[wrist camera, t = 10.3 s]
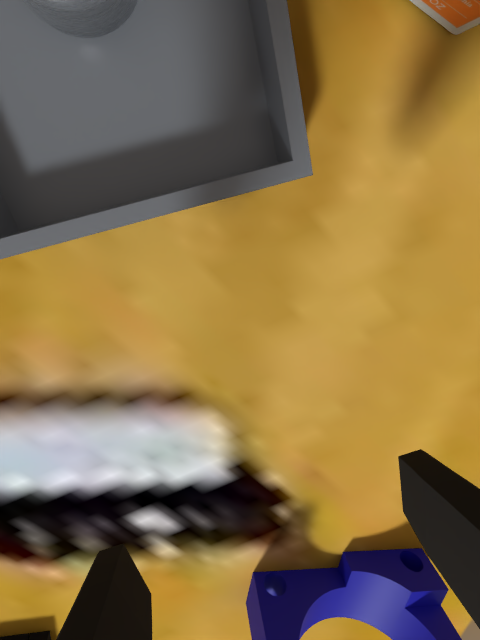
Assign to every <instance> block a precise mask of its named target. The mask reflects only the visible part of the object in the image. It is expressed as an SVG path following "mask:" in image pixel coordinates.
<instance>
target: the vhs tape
mask: <svg viewBox="0 0 480 640" xmlns="http://www.w3.org/2000/svg"><path fill="white" fill-rule="evenodd" d="M0 640H51V636H50V631H44V632H37V633H30V635H29V633H28V634H20V635H12V636H4V637H0Z"/></svg>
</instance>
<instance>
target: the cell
mask: <svg viewBox="0 0 480 640" xmlns="http://www.w3.org/2000/svg"><path fill="white" fill-rule="evenodd" d="M24 2H25V3H26V4H27V5H28V6H29V7H30V8H31V10H32V11H33V12H34V13H35V14H36V15H37V16H38V17H40V18H41V19H42V20H43V21H44V22H46V23H47V24H48V25H50V26H52V27H53V28H55V29H57V30H59V31H61V32H63V33H65V34H68V35H72V36H75V37H82V38H94V37H100V36H103V35H106V34H109V33H111V32H113V31H114V30H116V29H117V28H119V27H120V26H121V25H122V24H123V23H124V22H125V21H126V20H127V19H128V18H129V16H130V15H131V14H132V12H133V10H134V8H135V6H136V4H137V2H138V0H24Z"/></svg>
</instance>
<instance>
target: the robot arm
mask: <svg viewBox="0 0 480 640" xmlns="http://www.w3.org/2000/svg"><path fill="white" fill-rule="evenodd" d="M398 457H399V469H400V480H401V491H402V503H403V512H404V514H405V516H406V517H407V519H408V521H409V523H410V525H411V526H412V528H413V530H414V532H415V534H416V535H417V537H418V539H419V541H420V542H421V544H422V546H423V548H424V549H425V551H426V553H427V554H428V556H429V557H430V559H431V560H432V562H433V563H434V564H435V566H436V567H437V569H438V570H439V572H440V573H441V574H442V576H443V577H444V579H445V580H446V582H447V583H448V585H449V586H450V587H451V589H452V590H453V592H454V593H455V595H456V596H457V597H458V599H459V600H460V602H461V603H462V605H463V606H464V607H465V609H466V610H467V612H468V613H469V614H470V616H471V617H472V619H473V620H474V621H475V623H476V624H477V626H478V627H479V629H480V489H479V488H478V487H476V486H475V485H473V484H472V483H470V482H469V481H467V480H466V479H464V478H463V477H461V476H460V475H458V474H457V473H455V472H454V471H452V470H451V469H449V468H448V467H446V466H445V465H444V464H442V463H441V462H439V461H438V460H436V459H435V458H433V457H432V456H430V455H429V454H428V453H426V452H425V451H423V450H421V449H420V450H417V451H414V452H411V453H408V454H405V455H401V456H398ZM56 640H152V607H151V593H150V591H149V589H148V587H147V585H146V584H145V582H144V580H143V578H142V576H141V575H140V573H139V571H138V569H137V567H136V565H135V564H134V562H133V560H132V558H131V556H130V555H129V553H128V551H127V549H126V547H125V545H124V544H121V545H118V546H114V547H111V548H108V549H105V550H102V551H99V553H98V554H97V556H96V558H95V560H94V562H93V564H92V566H91V568H90V571H89V573H88V575H87V577H86V579H85V581H84V583H83V585H82V587H81V590H80V592H79V594H78V596H77V598H76V600H75V602H74V604H73V606H72V608H71V610H70V612H69V615H68V617H67V619H66V621H65V623H64V625H63V627H62V629H61V631H60V633H59V635H58V637H57V639H56Z"/></svg>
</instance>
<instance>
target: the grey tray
mask: <svg viewBox="0 0 480 640" xmlns="http://www.w3.org/2000/svg"><path fill="white" fill-rule="evenodd" d="M311 175H313V173H312V166H311V159H310V153H309V146H308V139H307V133H306V126H305V119H304V113H303V106H302V99H301V93H300V86H299V79H298V73H297V66H296V59H295V53H294V46H293V39H292V33H291V26H290V19H289V13H288V6H287V0H138V2H137V4H136V6H135V8H134V10H133V12H132V14H131V15H130V16H129V18H128V19H127V20H126V21H125V22H124V23H123V24H122V25H121V26H120V27H119V28H117V29H116V30H114V31H113V32H111V33H109V34H106V35H103V36H100V37H94V38H82V37H75V36H72V35H68V34H65V33H63V32H61V31H59V30H57V29H55V28H53V27H52V26H50V25H48V24H47V23H46V22H44V21H43V20H42V19H41V18H40V17H38V16H37V15H36V14H35V13H34V12H33V11H32V10H31V8H30V7H29V6H28V5H27V4H26V3H25V2H24V0H0V259H3V258H6V257H10V256H14V255H18V254H21V253H25V252H29V251H32V250H36V249H40V248H43V247H47V246H51V245H55V244H58V243H62V242H66V241H69V240H73V239H77V238H81V237H84V236H88V235H92V234H95V233H99V232H103V231H107V230H110V229H114V228H118V227H121V226H125V225H129V224H133V223H136V222H140V221H144V220H147V219H151V218H155V217H159V216H162V215H166V214H170V213H173V212H177V211H181V210H185V209H188V208H192V207H196V206H199V205H203V204H207V203H211V202H214V201H218V200H222V199H225V198H229V197H233V196H236V195H240V194H244V193H248V192H251V191H255V190H259V189H262V188H266V187H270V186H274V185H277V184H281V183H285V182H288V181H292V180H296V179H300V178H303V177H307V176H311Z"/></svg>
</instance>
